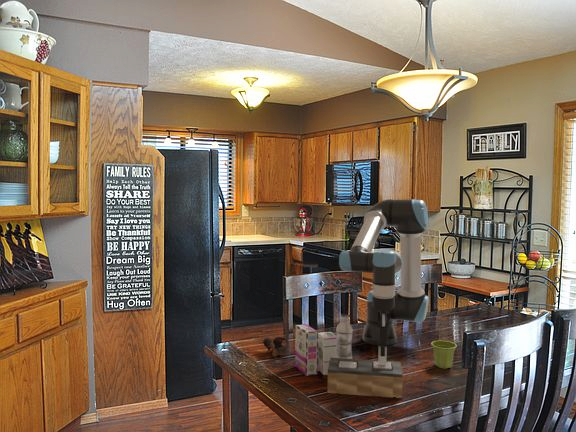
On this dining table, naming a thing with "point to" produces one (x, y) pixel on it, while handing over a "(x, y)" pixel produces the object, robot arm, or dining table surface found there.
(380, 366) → the peg
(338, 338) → the plastic bottle
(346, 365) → the seated peg
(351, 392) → the socket block
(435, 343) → the plant pot
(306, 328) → the candy bar box
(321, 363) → the syrup box
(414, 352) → the dining table surface
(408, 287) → the robot arm
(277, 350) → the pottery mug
